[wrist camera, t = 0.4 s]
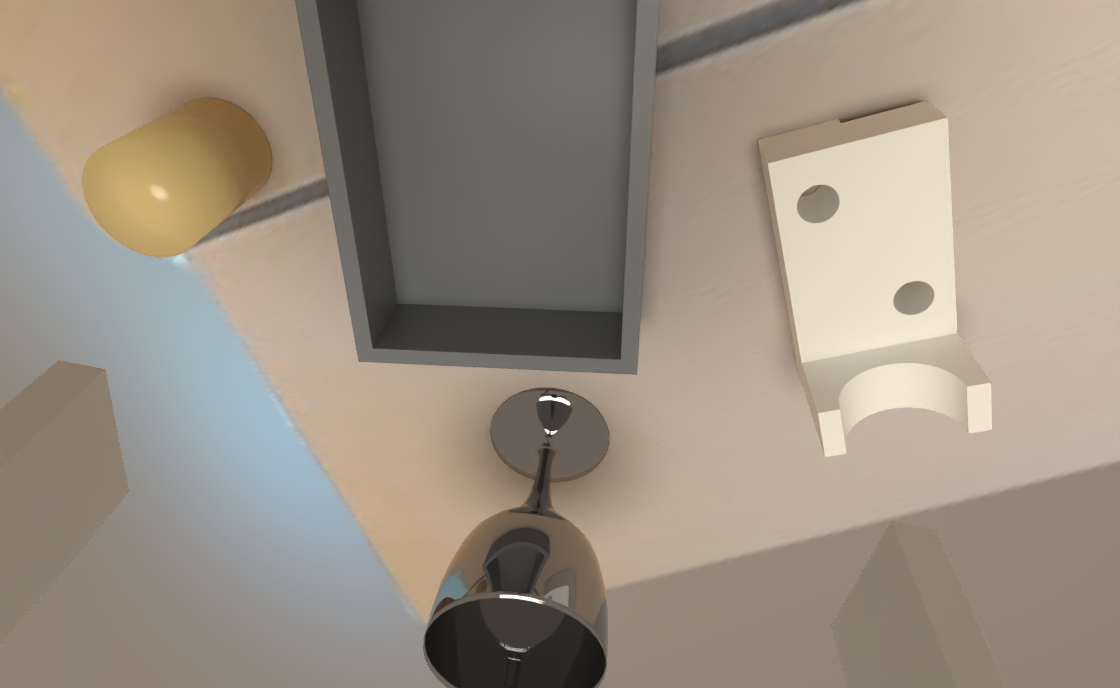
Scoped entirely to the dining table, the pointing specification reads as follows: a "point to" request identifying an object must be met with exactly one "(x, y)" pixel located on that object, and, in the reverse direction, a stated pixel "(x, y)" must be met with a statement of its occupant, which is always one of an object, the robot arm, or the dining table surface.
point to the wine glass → (527, 564)
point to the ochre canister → (177, 176)
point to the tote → (488, 175)
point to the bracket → (872, 269)
